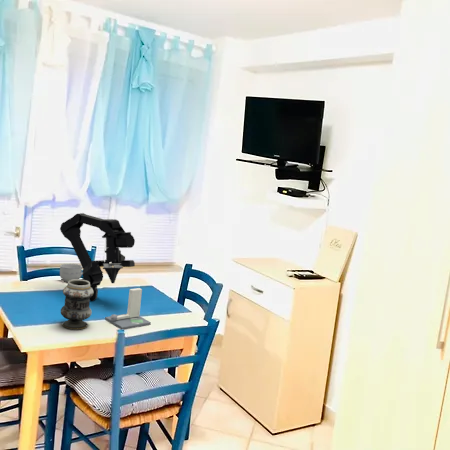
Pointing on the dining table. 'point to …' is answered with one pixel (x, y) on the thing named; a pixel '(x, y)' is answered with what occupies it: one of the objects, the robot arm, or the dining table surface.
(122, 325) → the dial board
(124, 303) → the dining table surface
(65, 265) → the teacup
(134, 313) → the dial crank handle
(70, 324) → the grey ornate vase
